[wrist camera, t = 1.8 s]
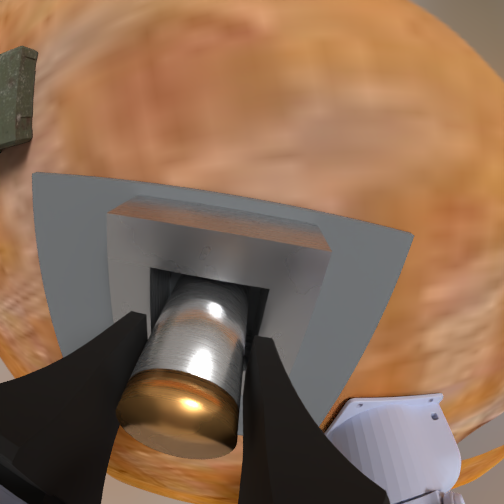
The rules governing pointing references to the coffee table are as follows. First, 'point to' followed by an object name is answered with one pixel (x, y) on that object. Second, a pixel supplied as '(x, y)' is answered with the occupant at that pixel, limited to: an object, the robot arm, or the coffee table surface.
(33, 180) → the mat
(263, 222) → the block
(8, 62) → the mechanical leg
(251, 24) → the coffee table surface
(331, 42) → the coffee table surface
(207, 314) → the gold capped metal cylinder
